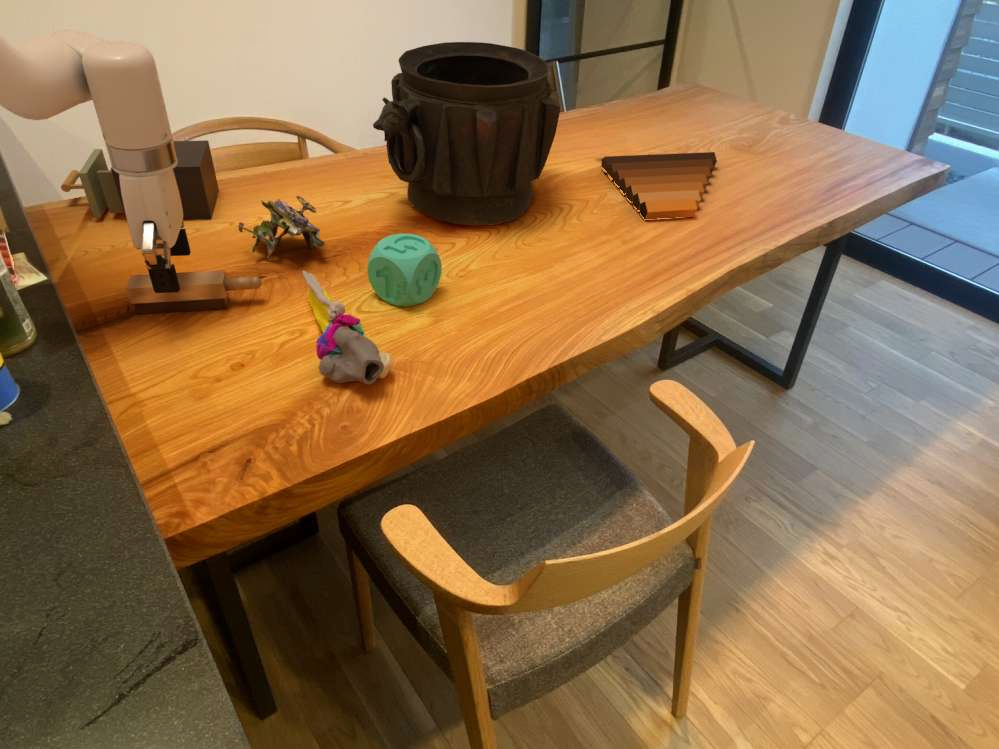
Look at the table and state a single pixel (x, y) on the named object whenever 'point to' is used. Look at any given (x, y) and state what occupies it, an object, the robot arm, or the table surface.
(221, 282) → the brush
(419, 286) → the decorative dice
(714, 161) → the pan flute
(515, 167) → the vessel
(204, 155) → the dark wooden cuboid
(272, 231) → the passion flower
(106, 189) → the drawer
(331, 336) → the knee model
